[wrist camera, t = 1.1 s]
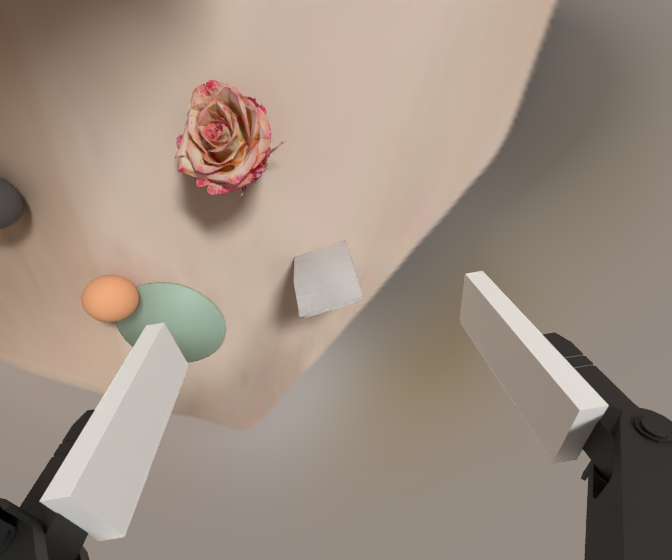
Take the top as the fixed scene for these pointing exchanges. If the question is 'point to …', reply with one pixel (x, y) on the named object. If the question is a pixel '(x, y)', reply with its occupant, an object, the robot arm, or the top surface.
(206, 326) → the green plate
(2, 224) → the dark grey ball
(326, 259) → the white paper snack bag
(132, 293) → the object ball
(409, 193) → the top surface
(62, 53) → the top surface
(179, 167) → the flower
